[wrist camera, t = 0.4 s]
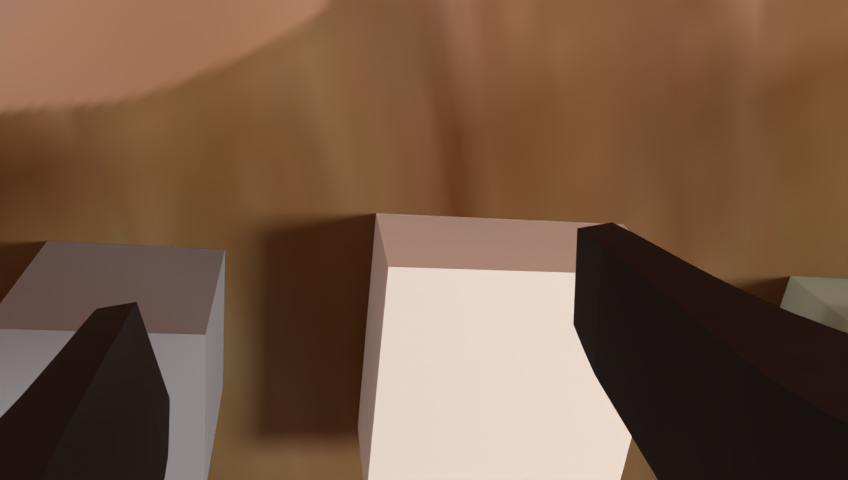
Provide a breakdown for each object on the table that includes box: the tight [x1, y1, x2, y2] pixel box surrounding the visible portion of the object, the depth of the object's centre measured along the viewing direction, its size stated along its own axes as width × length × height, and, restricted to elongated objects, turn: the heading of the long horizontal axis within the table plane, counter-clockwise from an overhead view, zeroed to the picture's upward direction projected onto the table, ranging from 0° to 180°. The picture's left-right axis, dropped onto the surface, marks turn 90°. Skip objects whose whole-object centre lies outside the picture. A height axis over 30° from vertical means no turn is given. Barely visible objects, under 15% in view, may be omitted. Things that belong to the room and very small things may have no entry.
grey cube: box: [0, 241, 225, 480], centre depth 21 cm, size 5×5×5 cm
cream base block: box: [358, 213, 632, 480], centre depth 24 cm, size 8×8×4 cm
